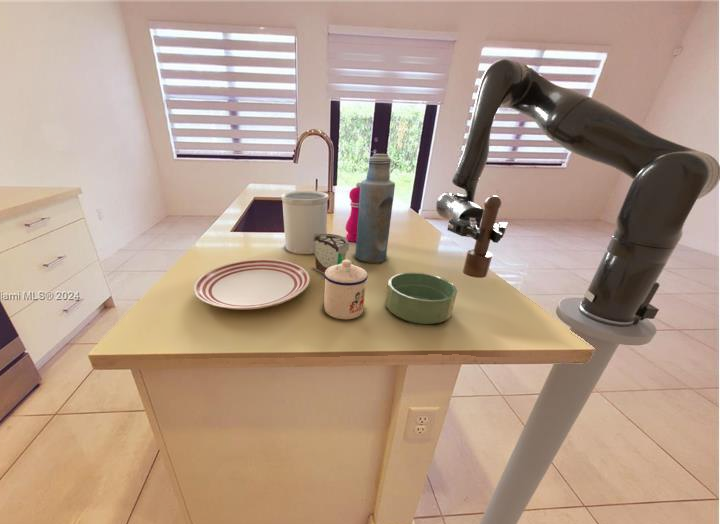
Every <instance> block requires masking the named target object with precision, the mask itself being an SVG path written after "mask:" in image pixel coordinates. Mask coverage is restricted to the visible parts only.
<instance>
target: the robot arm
mask: <svg viewBox="0 0 720 524" xmlns="http://www.w3.org/2000/svg"><path fill="white" fill-rule="evenodd" d="M501 107H504V108H509V109H512V110H515V111H517V112H519V113H522V114H523V115H525V116H527V117H528V118H531V119H532V120H533V121H534V122H535V123H536V124H537V126H538V128H539V129H540V130H541V132H542V133H543V134H544V135H545V136H546V137H547V138H548V139H550V140H552V142H554V143H556V144H557V145H559V146H561V147H562V148H564V149H565V150H566V151H569V152H571V153H573V154H576V155H577V156H580V157H583V158H585V159H589V160H591V161H593V162H596V163H600V164H603V165H606V166H608V167H611V168H614V169H616V170H618V171H620V172H622V173H623V174H625V175H626V176H628V177H629V178H631V179H632V182H631V184H630V185H629V188H628V190H627V193H626V195H625V198H624V200H623V202H622V205H621V207H620V208H619V209H620V210H619V212H618V214H617V216H616V221H615V230H614V232H613V234H612V237H611V239H610V241H609V243H608V246H607V247H606V250H605V251H604V254H603V256H602V258H601V261H600V262H599V265H598V266H597V269H596V271H595V273H594V275H593V277H592V280H591V282H590V284H589V286H588V288H587V289H586V291H585V292H584V295H583V298H584V299H583V301H582V303H581V304H580V306H579V311H580V312H581V313H582V314H583V315H585V316H586V317H588V318H590V319H593V320H595V321H598V322H600V323H604V324H607V325H612V326H619V327H627V326H631V325H632V324H634V325H637V324H638V322H639V320H641V321H642V320H643V319H645V318H646V319H648V320H654V319H655V318H656V316H657V314H658V312H659V311H660V309H659V308H657V307H656V306H654V305H653V304H651V302H652V300H653V298H654V296H655V295H656V293H657V291H658V290H659V288H660V286H661V285H660V283H659V282H657V281H658V279H659V277H660V276H661V274H662V272H663V270H664V269H665V267H666V265H667V263H668V261H669V260H670V258H671V256H672V254H673V253H674V251H675V249H676V247H677V246H678V244H679V242H680V241H681V239H682V237H683V233H684V232H683V229H684V225H685V222H686V220H687V219H688V217H689V215H690V213H691V211H692V209H693V208H694V206H695V204H696V202H697V201H698V200H700V199H702V198H703V197H706V196H707V195H708V194H710V193H711V192H712V191H713V190H714V189H715V188H716V187H717V186H718V184H719V183H720V163H719V162H718V160H717V159H716V158H715V157H714V156H712V155H711V154H709V153H706V152H703V151H699V150H696V149H693V148H692V147H688V146H685V145H682V144H680V143H677V142H674V141H671V140H668V139H666V138H664V137H661V136H659V135H657V134H655V133H652V132H651V131H649V130H648V129H646V128H644V127H643V126H642V125H640V124H639V123H637V122H635V121H634V120H632V118H629V117H627V116H626V115H624V114H623V113H621V112H619V111H617V110H615V109H614V108H612V107H610V106H609V105H607V104H605V103H603V102H601V101H599V100H597V99H595V98H593V97H591V96H588V95H586V94H583V93H581V92H579V91H575V90H573V89H570V88H566V87H563V86H561V85H556V84H555V83H553V82H552V81H550V80H548V79H547V78H546V77H544V76H543V75H541V74H540V73H539V72H538V71H536V70H535V69H534V68H532V67H531V66H529V65H528V64H526V63H524V62H520V61H517V60H511V59H507V58H504V59H503V58H501V59H498V60H496V61H494V62H493V63H492V64H490V65H489V67H487V69H486V70H485V72H484V73H483V75H482V77H481V79H480V83H479V85H478V89H477V93H476V97H475V102H474V106H473V111H472V115H471V118H470V122H469V128H468V131H467V136H466V140H465V144H464V147H463V150H462V153H461V155H460V158H459V161H458V163H457V166H456V168H455V171H454V174H453V176H452V180H451V182H452V185H454V186H456V187H458V188H460V189H462V190H463V191H464V194H459V193H453V192H444V193H442V194H441V195H440V196H439V197H438V198H437V199H436V202H435V211H436V213H437V214H438V216H439V217H441V218H442V219H443V218H444V219H446V220H448V224H447V229H446V230H447V231H449V232H451V233H452V234H453V233H454V234H455V235H457V236H460V237H466V238H471V239H473V240H475V242H476V241H477V242H481V241H482V237H483V231H482V230H481V229H479V227H480V223H481V219H482V215H483V211H484V208H482V207H481V206H479V205H478V204H476V203H475V196H476V190H477V187H478V183H479V180H480V178H481V176H482V174H483V172H484V169H485V167H486V164H487V162H488V158H489V155H490V153H489V152H490V140H491V139H490V138H491V132H492V127H493V123H494V120H495V118H496V116H497V113H498V111H499V110H500V108H501ZM507 227H508V222H506V221H502V222H499V223H498V224H497V223H495V225H494V229H493V233H492V236H491V240H490V241H491V242H493V243H495V244H497V243H498V244H499V241H501V239H503V237H504V235H505V234H506V230H507Z"/></svg>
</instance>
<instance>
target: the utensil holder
mask: <svg viewBox="0 0 720 524" xmlns="http://www.w3.org/2000/svg"><path fill="white" fill-rule="evenodd" d="M329 197H330V196H329V194H328V193H327V192H323V191H318V190H292V191H285V192H283V193H282V194H281V201H282V215H283V230H284V242H285V249H286V250H287V251H288V252H290V253H292V254H296V255H313V254H314V255H315V248H314V241H313V237H314V234H328V202H329Z"/></svg>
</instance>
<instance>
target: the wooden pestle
mask: <svg viewBox="0 0 720 524" xmlns="http://www.w3.org/2000/svg"><path fill="white" fill-rule="evenodd" d="M483 207H484V208H483V210H484V211H483V215H482V219H481V223H480V227H479V229H481V230H482V231H483V237H482V241H481V242H477V241H476V240H475V244H474V248H473V249H469V250H467V252H466V256H465V260H464V265H463V269H462V273H463V274H464V275H466V276H468V277H472V278H475V279H476V278H477V279H483V278H487V276H488V272H489V269H490V266H491V262H492V259H493V254H492V253H491V252H489V251H488V250H489V246H490V244H491V241H492V240H491V236H492V233H493V229H494V225H495V224H496V221H497V217H498V214H499V209H500V208H501V207H502V199H501V198H500V197H499V196H497V195H492V196H489V197H487V198H486V199H485V200H484V204H483Z"/></svg>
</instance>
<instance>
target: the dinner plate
mask: <svg viewBox="0 0 720 524" xmlns="http://www.w3.org/2000/svg"><path fill="white" fill-rule="evenodd" d="M310 282H311V277H310V274H309V272H308V271H307V270H306V269H305V268H304V267H302V266H300V265H298V264H296V263H294V262H290V261H287V260H281V259H273V258H272V259H271V258H257V259H256V258H255V259H246V260H239V261H233V262H231V263H226V264H223V265H220V266H217V267H215V268H212V269H210V270H208V271H206V272H205V273H203V274H202V275H200V277H199V278H198V279H196V281H195V283H194V285H193V294H194V295H195V297H196V298H197V299H198V300H200V301H201V302H203V303H205V304H207V305H210V306H214V307H216V308H221V309H222V308H223V309H229V310H259V309H264V308H270V307H273V306H278V305H280V304H284V303H286V302H288V301H290V300H293V299H294V298H296V297H298V296H299V295H300V294H301V293H303V292H304V291H305V290H306V289H307V288H308V286H309V284H310Z"/></svg>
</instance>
